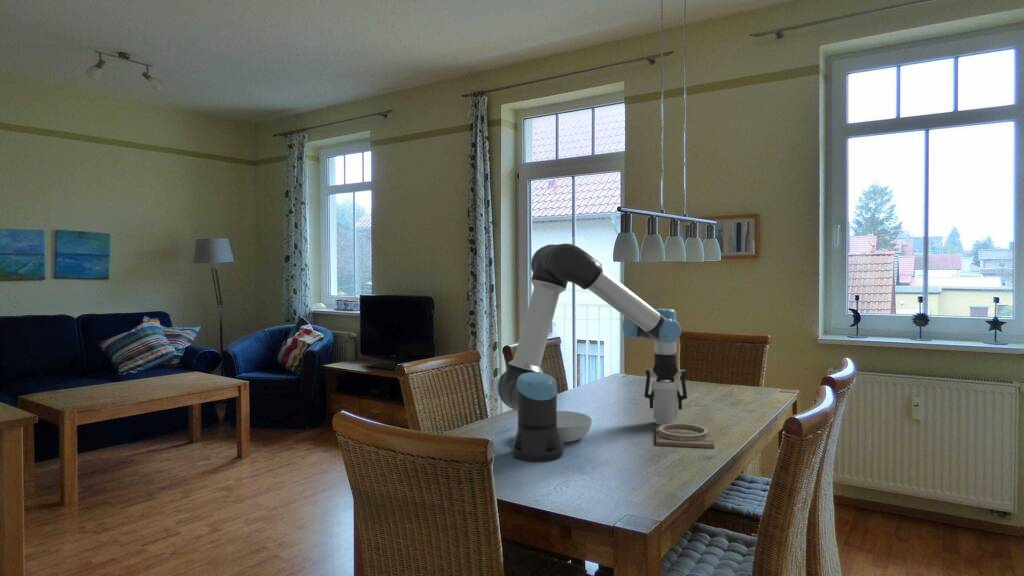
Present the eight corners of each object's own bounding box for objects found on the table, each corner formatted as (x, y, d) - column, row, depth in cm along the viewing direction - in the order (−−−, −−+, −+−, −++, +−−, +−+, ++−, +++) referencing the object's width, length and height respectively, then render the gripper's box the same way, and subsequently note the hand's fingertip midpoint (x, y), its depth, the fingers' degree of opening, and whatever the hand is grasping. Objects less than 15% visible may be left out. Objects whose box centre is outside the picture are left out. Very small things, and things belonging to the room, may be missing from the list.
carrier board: (714, 448, 183) (714, 439, 183) (656, 445, 187) (656, 436, 187) (708, 430, 202) (708, 422, 202) (655, 428, 206) (655, 420, 206)
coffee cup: (668, 418, 218) (668, 377, 218) (685, 425, 210) (685, 382, 209) (646, 421, 215) (645, 379, 214) (662, 428, 206) (661, 384, 206)
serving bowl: (538, 451, 183) (538, 429, 182) (519, 433, 203) (519, 413, 203) (602, 445, 188) (602, 423, 188) (577, 428, 208) (577, 408, 208)
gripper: (694, 352, 213) (694, 416, 214) (636, 351, 217) (636, 414, 218) (696, 355, 206) (696, 422, 206) (635, 353, 210) (636, 419, 211)
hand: (665, 418), depth 212 cm, fingers closed on coffee cup, 7 cm apart
